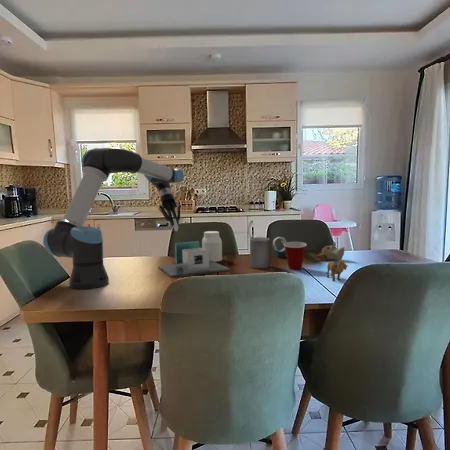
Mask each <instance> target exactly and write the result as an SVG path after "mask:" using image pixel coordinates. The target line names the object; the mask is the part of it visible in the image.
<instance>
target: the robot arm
mask: <svg viewBox="0 0 450 450" xmlns="http://www.w3.org/2000/svg"><path fill="white" fill-rule="evenodd" d="M81 163H82V164H81V165H82V166H81V167H82V172H83V176H82V178H81V179H80V181H79V183H78V187H77V188H76V190H75V192H74V195H73V197H72V198H71V201H70V203H69V205H68V207H67V210H66V211H65V214H64V215H63V218H62V219H59V220H57V221H56V224H55V225H54V227H53V228H51V229H48V230H47V231H46V232H45V234H44V235H43V239H42V240H43V242H42V243H43V244H42V245H43V247H44V250H45V251H46V252H47V253H48V254H49V255H51V256H53V257H54V256H55V257H58V258H71V259H72V270H71V273H70V276H69V281H68V285H69V286H68V287H69V288H71V289H74V290H91V289H96V288H101V287H104V286H106V285H108V284H109V283H110V281H109V280H110V279H109V275H108V272H107V270H106V268H105V264H104V248H103V247H104V245H103V242H104V241H103V233H102V230H101V229H100V228H97V227H94V226H84V224H85V222H86V221H87V220H86V219H87V217H88V216H89V213H90V211H91V209H92V206H93V204H94V202H95V200H96V198H97V195H98V194H99V191H100V188H101V186H102V184H103V183H105V182H106V181H108V179H109V177H110V175H111V174H117V173H129V174H141V175H143V176H144V177H145V178H146V180H147V181H148V182H150V184H152V185H153V186H154V187H155V188H156V189H157V191H158V195H159V199H160V201H161V202H160V203H161V205H159V206H158V210H159V212H160V213H161V214H162V216H163V218H164V219H165V220H166V221H167V222H169V223H170V225H171V226H172V227H173V229H174V232H178V231H179V223H180V219H181V208H182V204H177V202H176V200H175V197H174V193H173V191H172V188H171V185H170V184H172V183H175V184H176V183H181V182H183V180H184V178H185V177H184V176H185V175H184V174H185V173H184V171H183V169H182V168H172V167H170V166H167V165H164V164H161V163H158V162H156V161H152V160H150V159H147V158H144V157H142V156H141V155H140V154H139V153H137V152H134V151H131V150H129V149H126V148H122V147H118V146H112V147H101V148H100V147H99V148H98V147H95V148H92V149H91V148H90V149H88V150H87V151H85V152H84V153H83V155H82V158H81Z"/></svg>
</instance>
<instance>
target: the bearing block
mask: <svg viewBox="0 0 450 450" xmlns="http://www.w3.org/2000/svg"><path fill="white" fill-rule="evenodd" d="M182 254H183V263H181V264H176V263H173V264H172V263H171V264H165V265H163V264H162V265H158V267H157V268H158V269H159V270H160V271H161V272H163V273H164V274H166V275H167V276H168V277H170V278H171V279H172V278H179V277H189V276H195V275H204V274H205V275H206V274H213V273H220V272H230V268H229V267H227V266H224V265H222V264H220V263H218V262H214V261H211V260H210V261H209V250H207V249H204V248H202V247H200V248H193V249H182ZM194 256H198V257H199V259H198V261H194Z"/></svg>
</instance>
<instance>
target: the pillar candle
mask: <svg viewBox="0 0 450 450" xmlns="http://www.w3.org/2000/svg"><path fill="white" fill-rule="evenodd" d="M249 267H250V268H253V269H268V268H270V267H271V239H270V238H269V237H261V236H259V237H252V238H250V239H249Z"/></svg>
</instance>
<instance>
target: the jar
mask: <svg viewBox="0 0 450 450" xmlns="http://www.w3.org/2000/svg"><path fill="white" fill-rule="evenodd" d="M222 245H223V241H222V238H221V237H220V231H215V230H209V231H204V232H203V237H202V239H201V248H204V249H207V250H209V261H210V260H211V261H214V262H216V263H218V262H221V261H223V246H222Z"/></svg>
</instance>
